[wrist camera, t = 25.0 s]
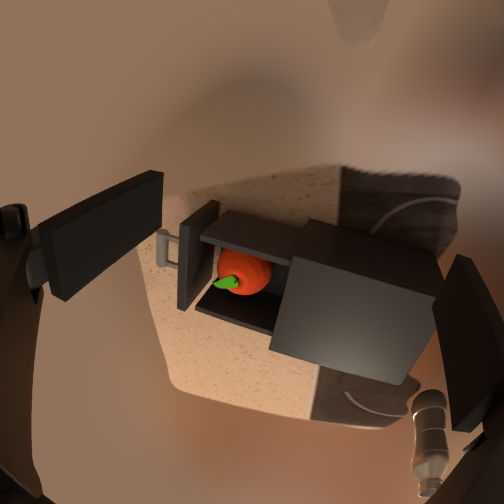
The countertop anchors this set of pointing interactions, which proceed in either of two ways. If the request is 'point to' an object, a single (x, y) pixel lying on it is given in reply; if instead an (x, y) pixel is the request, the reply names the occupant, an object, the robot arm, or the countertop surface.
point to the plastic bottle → (429, 441)
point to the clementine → (242, 272)
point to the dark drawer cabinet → (357, 303)
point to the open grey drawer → (238, 239)
